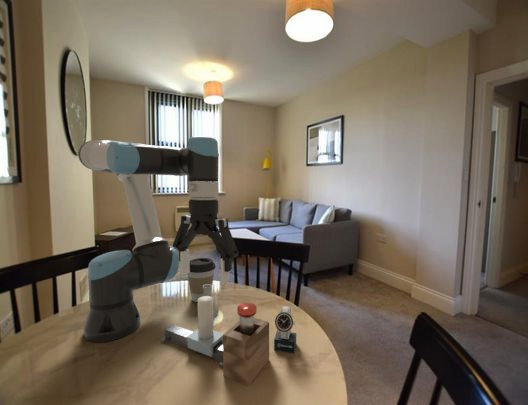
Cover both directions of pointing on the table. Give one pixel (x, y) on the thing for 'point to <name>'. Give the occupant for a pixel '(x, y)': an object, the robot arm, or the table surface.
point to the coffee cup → (200, 276)
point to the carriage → (205, 329)
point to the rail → (180, 338)
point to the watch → (284, 331)
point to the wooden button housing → (245, 352)
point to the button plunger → (246, 318)
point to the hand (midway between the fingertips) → (204, 278)
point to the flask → (208, 293)
